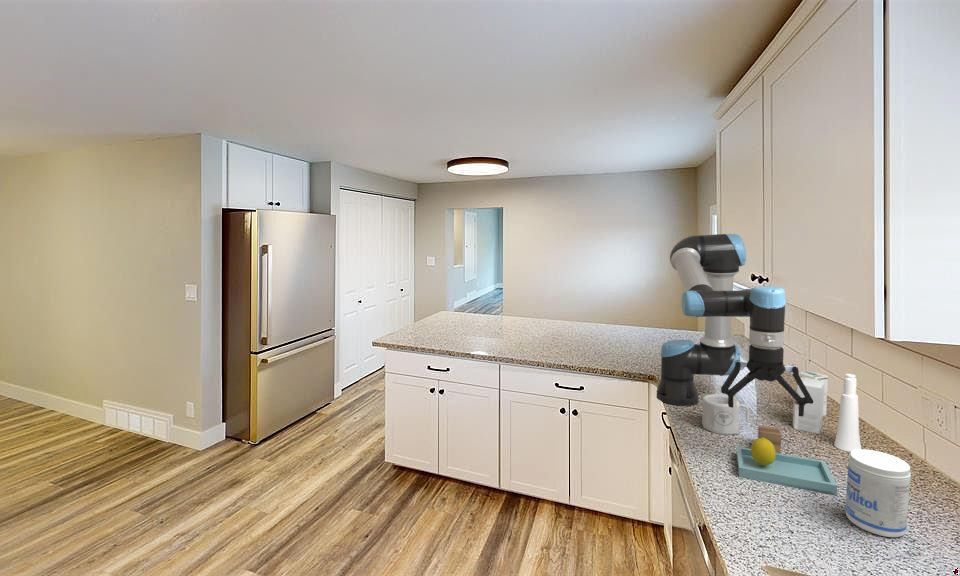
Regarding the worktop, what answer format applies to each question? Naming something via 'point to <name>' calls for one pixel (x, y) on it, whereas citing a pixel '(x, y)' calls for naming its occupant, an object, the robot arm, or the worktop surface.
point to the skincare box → (812, 406)
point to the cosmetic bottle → (848, 417)
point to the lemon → (763, 451)
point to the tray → (788, 472)
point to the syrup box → (819, 377)
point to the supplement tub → (878, 492)
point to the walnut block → (771, 436)
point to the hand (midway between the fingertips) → (763, 422)
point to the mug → (721, 415)
